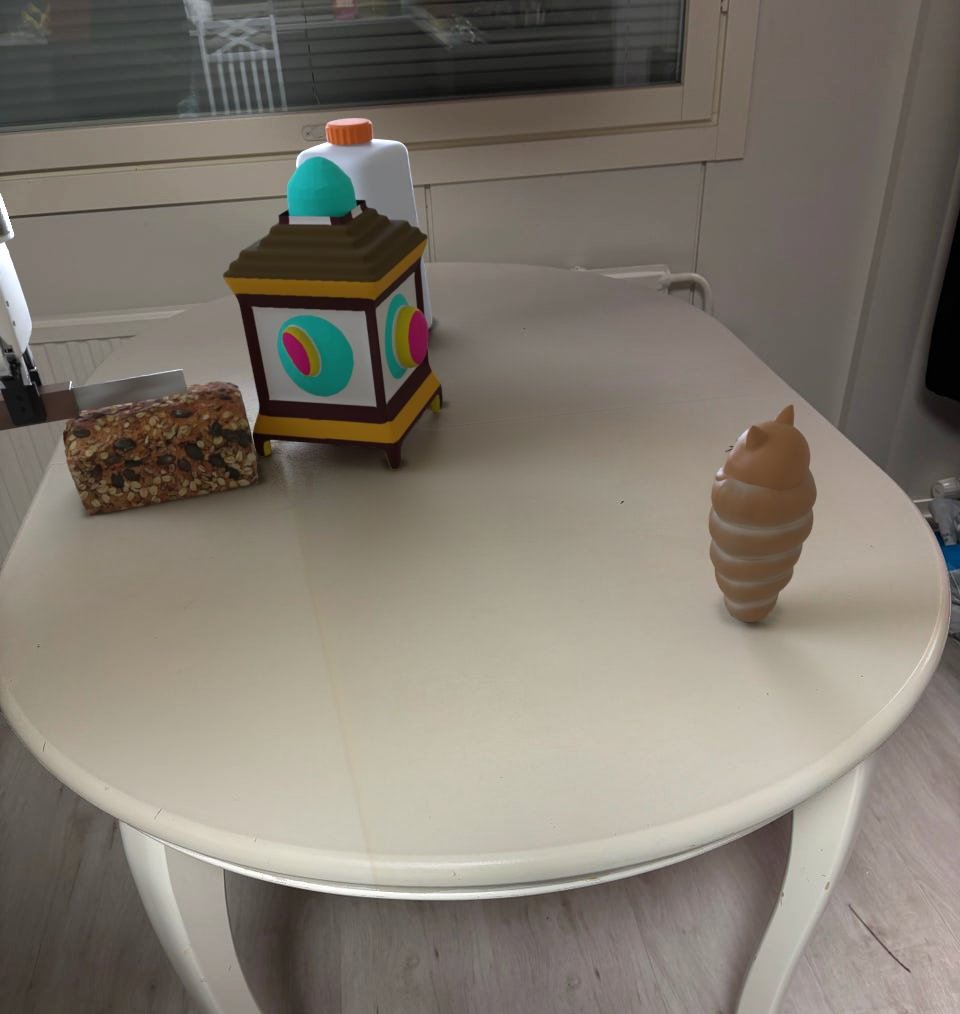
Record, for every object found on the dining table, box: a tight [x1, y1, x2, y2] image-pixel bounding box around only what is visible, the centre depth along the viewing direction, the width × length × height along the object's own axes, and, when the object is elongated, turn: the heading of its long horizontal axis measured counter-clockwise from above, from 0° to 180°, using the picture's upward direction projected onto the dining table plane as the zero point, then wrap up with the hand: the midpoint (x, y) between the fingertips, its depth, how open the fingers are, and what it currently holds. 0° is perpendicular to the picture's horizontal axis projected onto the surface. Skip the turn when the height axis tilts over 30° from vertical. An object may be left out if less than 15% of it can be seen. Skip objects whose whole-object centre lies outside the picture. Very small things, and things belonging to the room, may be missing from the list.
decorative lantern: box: [222, 156, 444, 471], centre depth 105 cm, size 20×20×30 cm
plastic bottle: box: [295, 117, 433, 330], centre depth 132 cm, size 15×15×28 cm
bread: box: [62, 380, 259, 516], centre depth 102 cm, size 19×11×10 cm, turn 107°
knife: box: [0, 368, 188, 432], centre depth 97 cm, size 20×2×3 cm, turn 105°
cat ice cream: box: [708, 404, 818, 623], centre depth 75 cm, size 9×8×18 cm
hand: (32, 415), depth 97 cm, fingers closed on knife, 2 cm apart
